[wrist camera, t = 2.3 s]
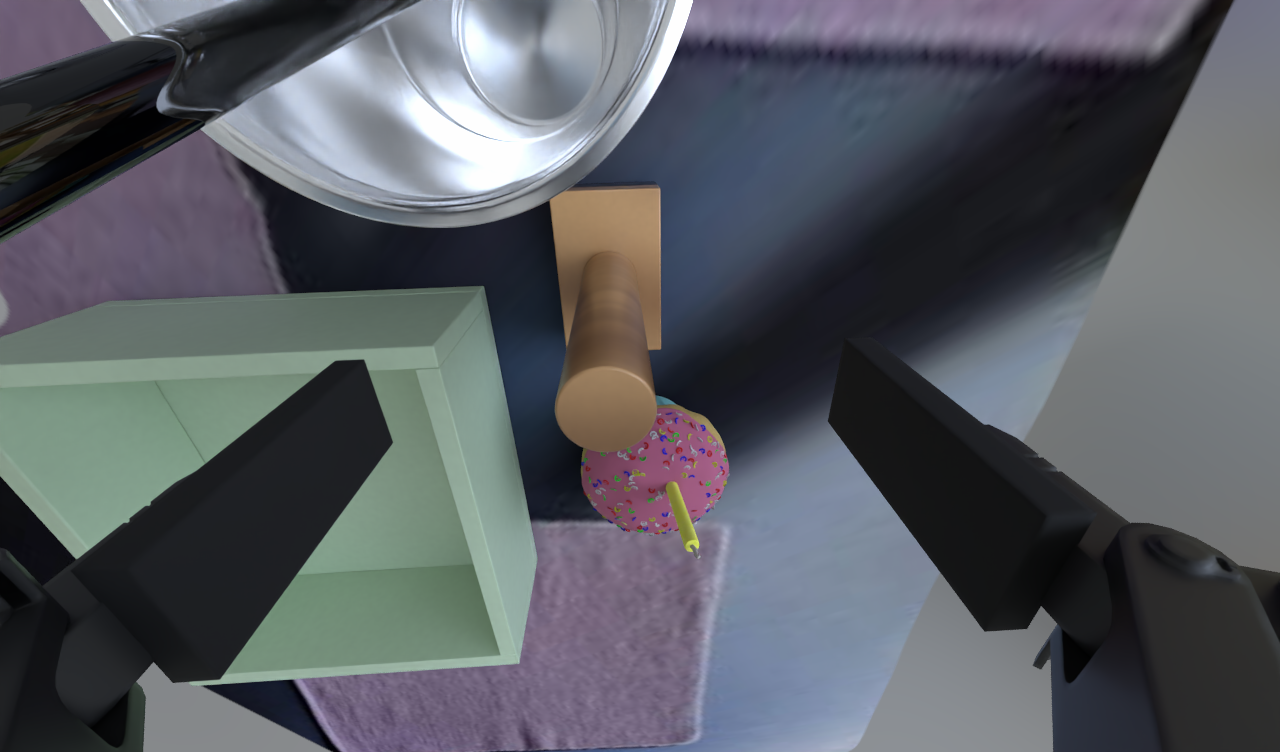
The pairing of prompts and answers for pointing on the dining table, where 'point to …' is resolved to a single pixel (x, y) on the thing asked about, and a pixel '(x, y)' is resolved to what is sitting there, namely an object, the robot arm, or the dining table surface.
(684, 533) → the cupcake
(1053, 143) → the dining table surface
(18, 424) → the tub
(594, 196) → the wooden stamp
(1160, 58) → the dining table surface
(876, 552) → the dining table surface
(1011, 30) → the dining table surface
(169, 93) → the tall metal cup
